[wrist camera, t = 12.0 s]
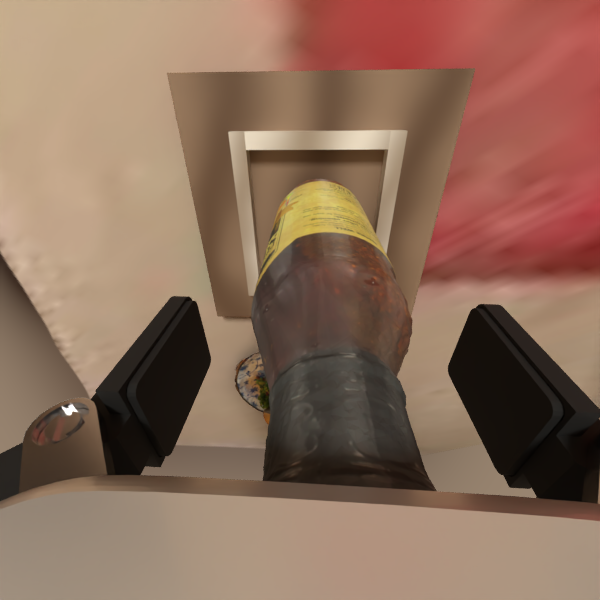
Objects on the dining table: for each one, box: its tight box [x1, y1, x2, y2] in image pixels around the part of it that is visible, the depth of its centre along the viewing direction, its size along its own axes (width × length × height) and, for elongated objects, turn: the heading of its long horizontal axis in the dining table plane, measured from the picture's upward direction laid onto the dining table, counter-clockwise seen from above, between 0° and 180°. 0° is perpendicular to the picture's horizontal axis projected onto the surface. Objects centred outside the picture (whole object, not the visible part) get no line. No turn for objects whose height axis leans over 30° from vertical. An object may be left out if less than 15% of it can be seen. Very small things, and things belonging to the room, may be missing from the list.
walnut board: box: [167, 68, 475, 317], centre depth 21 cm, size 18×18×2 cm
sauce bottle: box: [251, 179, 436, 491], centre depth 13 cm, size 7×6×20 cm
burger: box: [235, 353, 270, 425], centre depth 30 cm, size 12×12×8 cm
